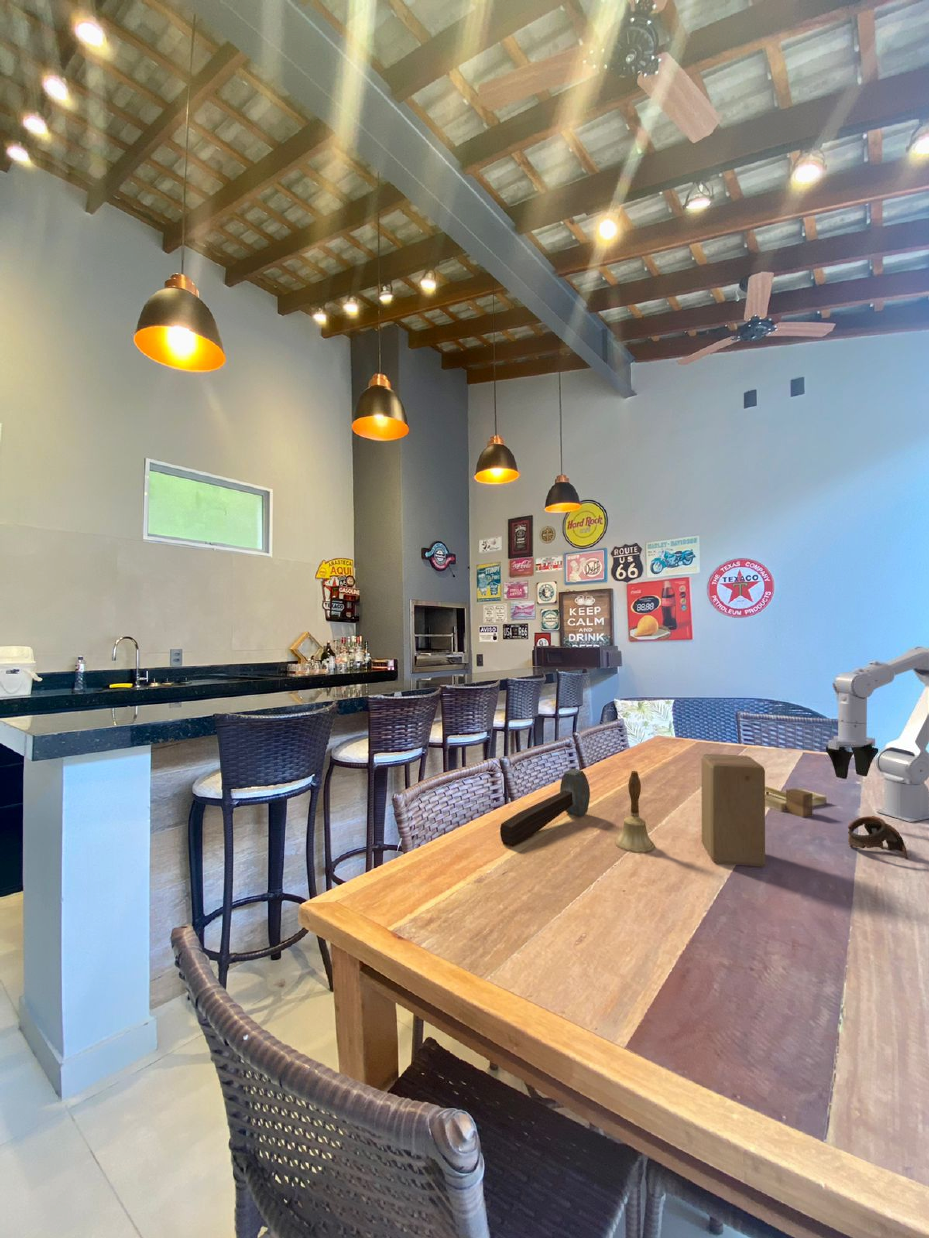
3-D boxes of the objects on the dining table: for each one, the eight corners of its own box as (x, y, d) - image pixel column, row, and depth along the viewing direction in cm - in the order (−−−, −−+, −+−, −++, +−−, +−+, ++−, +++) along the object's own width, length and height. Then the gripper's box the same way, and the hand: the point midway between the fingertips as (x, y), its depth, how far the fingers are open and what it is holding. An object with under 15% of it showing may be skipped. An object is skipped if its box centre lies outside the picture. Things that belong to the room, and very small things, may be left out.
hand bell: (660, 852, 112) (660, 776, 112) (621, 852, 112) (621, 776, 112) (647, 837, 121) (646, 766, 121) (610, 837, 121) (610, 766, 121)
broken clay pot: (918, 868, 106) (896, 832, 107) (865, 878, 111) (844, 843, 111) (902, 833, 117) (882, 800, 117) (854, 843, 122) (835, 811, 122)
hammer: (516, 865, 114) (591, 812, 135) (511, 814, 113) (588, 769, 135) (499, 858, 118) (575, 807, 139) (494, 809, 117) (571, 765, 138)
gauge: (769, 800, 146) (769, 780, 146) (812, 815, 135) (812, 793, 135) (760, 802, 145) (760, 781, 145) (802, 817, 133) (802, 795, 133)
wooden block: (766, 869, 105) (766, 766, 105) (712, 864, 107) (712, 764, 107) (750, 848, 115) (750, 754, 115) (700, 844, 117) (700, 752, 117)
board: (801, 795, 150) (801, 788, 150) (826, 803, 144) (826, 795, 144) (757, 803, 144) (757, 795, 144) (781, 811, 137) (781, 803, 137)
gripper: (854, 717, 139) (854, 770, 139) (816, 720, 134) (815, 774, 134) (884, 722, 133) (883, 777, 132) (845, 725, 127) (844, 782, 127)
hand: (851, 776), depth 133 cm, fingers open, 7 cm apart
